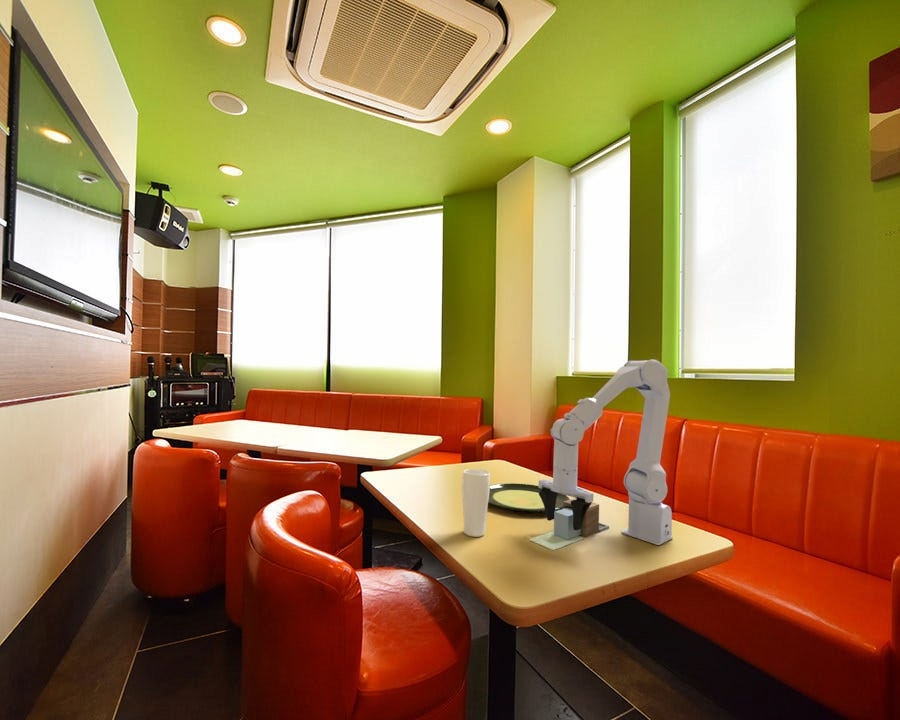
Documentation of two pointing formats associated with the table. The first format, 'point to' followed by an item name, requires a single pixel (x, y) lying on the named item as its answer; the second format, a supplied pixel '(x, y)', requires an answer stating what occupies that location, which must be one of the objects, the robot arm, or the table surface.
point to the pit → (603, 527)
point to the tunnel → (588, 518)
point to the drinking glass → (475, 501)
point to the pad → (554, 540)
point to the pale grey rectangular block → (565, 524)
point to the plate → (520, 497)
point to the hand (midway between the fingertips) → (563, 524)
